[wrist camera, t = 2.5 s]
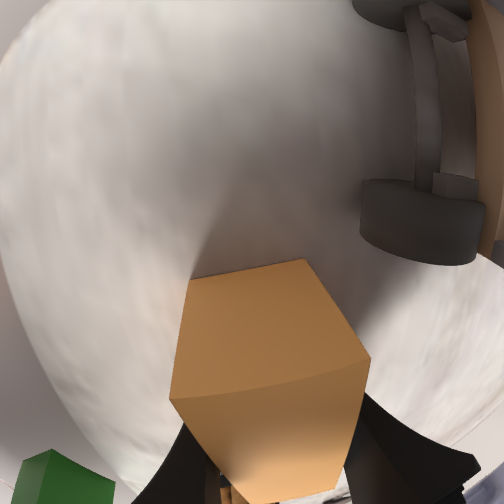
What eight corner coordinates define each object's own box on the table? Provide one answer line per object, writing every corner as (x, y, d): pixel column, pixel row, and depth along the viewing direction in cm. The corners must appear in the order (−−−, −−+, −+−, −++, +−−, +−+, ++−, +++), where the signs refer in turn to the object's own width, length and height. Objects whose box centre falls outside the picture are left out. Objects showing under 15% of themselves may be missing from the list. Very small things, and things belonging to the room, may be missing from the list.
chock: (304, 258, 9) (371, 358, 5) (311, 415, 13) (334, 488, 9) (189, 280, 9) (168, 398, 5) (242, 429, 13) (251, 505, 8)
